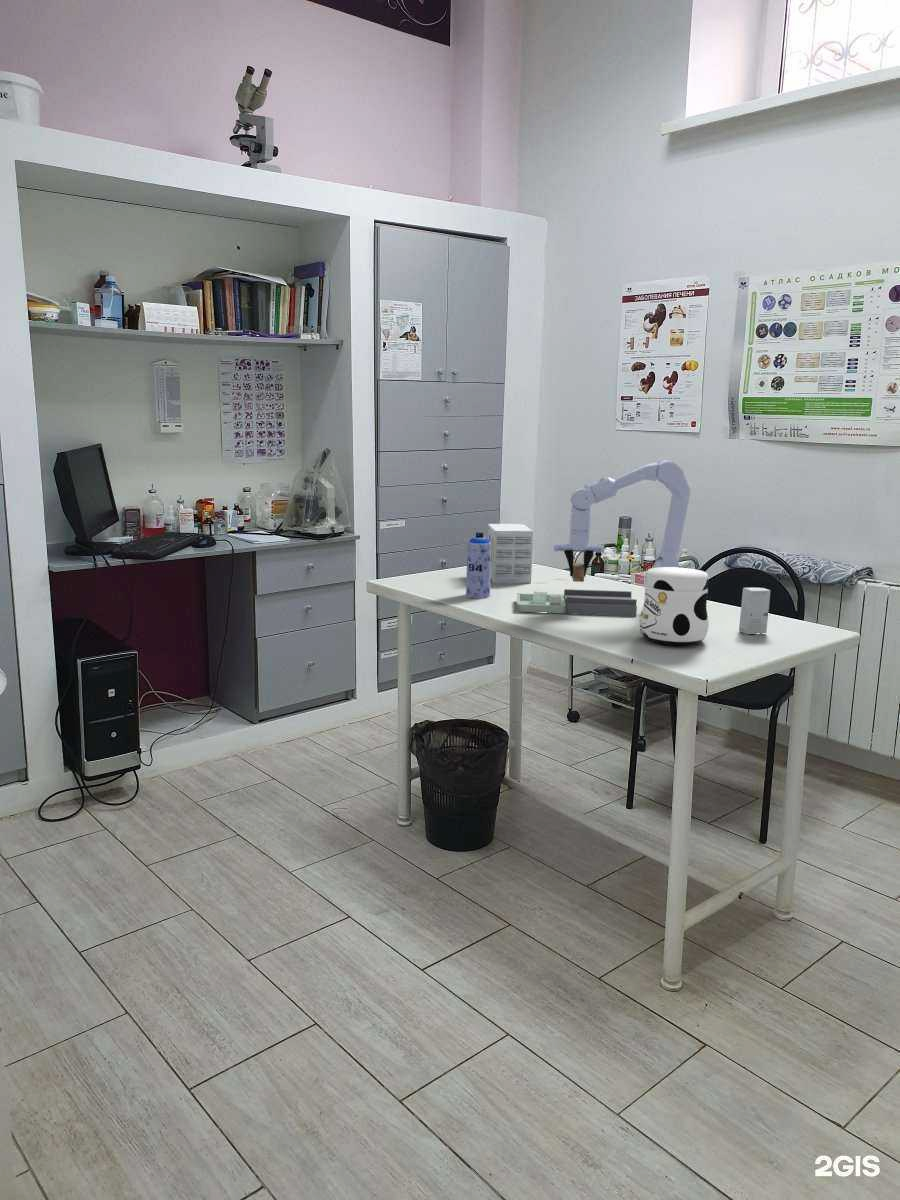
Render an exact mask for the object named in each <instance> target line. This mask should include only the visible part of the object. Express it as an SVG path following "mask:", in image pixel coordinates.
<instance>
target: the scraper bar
mask: <svg viewBox="0 0 900 1200" xmlns="http://www.w3.org/2000/svg"><path fill="white" fill-rule="evenodd" d="M583 564H584V563H583V562H574V561H573V576H571V579H572V582H577V583H581V582H582V583H584V582H585V577H584V566H583Z"/></svg>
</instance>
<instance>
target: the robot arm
mask: <svg viewBox="0 0 900 1200" xmlns="http://www.w3.org/2000/svg"><path fill="white" fill-rule="evenodd" d="M641 481H652V482H656V481H658V482H659V483H661V484H663V485H664V486H665V487H666V488H667V489H668V491H669V493H670V494H671V497H670V503H669V509H668V514H667V520H666V525H665V530H664V535H663V540H662V546H661V548H660V550H659V552H658V553H659V554H658V557H657V559H656V560H655V562H654V563H653V567H652V568H656V567H679V568H680V566H679V563H680V546H681V542H682V536H683V532H684V527H685V521H686V516H687V513H688V512H687V511H688V505H689V500H690V495H691V488H690V486H689V483H688V480H687V479H686V477H685V474H684V470H683V469H682V468H681V467H680V466H679V465H678V464H677V463H675V462H674V461H670V460H668V459H660V460H658V461H657V462H651V463H647V464H645V465H643V466H641V467H638V468H636V469H634V470H631V471H630V472H627V473H624V474H623V475H620V476H619V477H616V478H611V477H609V476H607V477H604V476H602V477H599V480H598V481H595V482H592V483H591V484H587V483H586V484H584V488H582V487H581V488H577V489H575V490H573V492H572V493H571V495H570V498H569V499H570V503H571V510H570V511H571V513H570V521H569V522H570V523H569V524H570V525H569V543H554V544H553V552H564V556H565V557H566V560H567V564H568V567H569V576H570V577H572V576H573V562H574V555H575V554H574V552H576V553H577V552H580V553H581V552H582V553H583V563H582V564H583V566H584V578H586V574H587V571H588V568H589V565H590V563H591V560H592V559H593V557H594V553H602V554H603V553H605V545H603V544H593V543H592V544H590V533H591V532H590V531H591V507H592V505H593V504H598V503H600V502H602V501H605V500H608V499H610V498H613V497H616V495H617V493H618V491H619V490H621V489H623V488H626V487H629V486H630V485H631V486H632V485H635V484H636V483H638V482H641ZM667 489H666V490H667Z"/></svg>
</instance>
